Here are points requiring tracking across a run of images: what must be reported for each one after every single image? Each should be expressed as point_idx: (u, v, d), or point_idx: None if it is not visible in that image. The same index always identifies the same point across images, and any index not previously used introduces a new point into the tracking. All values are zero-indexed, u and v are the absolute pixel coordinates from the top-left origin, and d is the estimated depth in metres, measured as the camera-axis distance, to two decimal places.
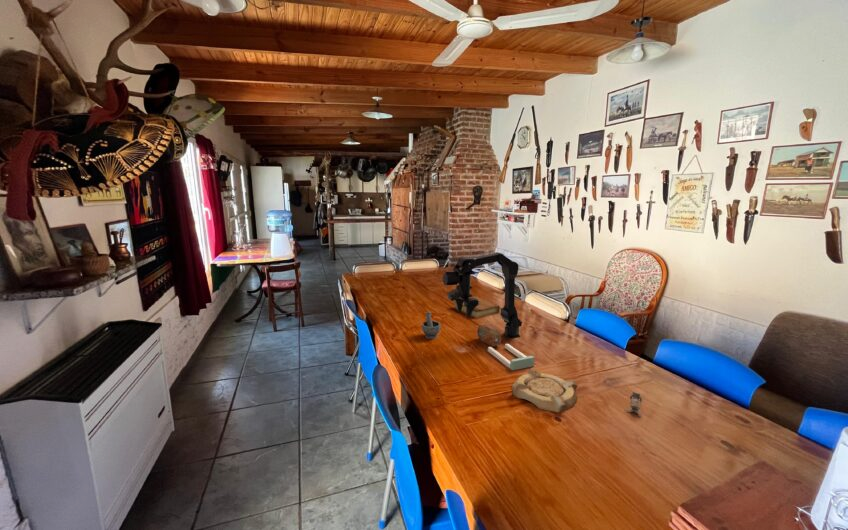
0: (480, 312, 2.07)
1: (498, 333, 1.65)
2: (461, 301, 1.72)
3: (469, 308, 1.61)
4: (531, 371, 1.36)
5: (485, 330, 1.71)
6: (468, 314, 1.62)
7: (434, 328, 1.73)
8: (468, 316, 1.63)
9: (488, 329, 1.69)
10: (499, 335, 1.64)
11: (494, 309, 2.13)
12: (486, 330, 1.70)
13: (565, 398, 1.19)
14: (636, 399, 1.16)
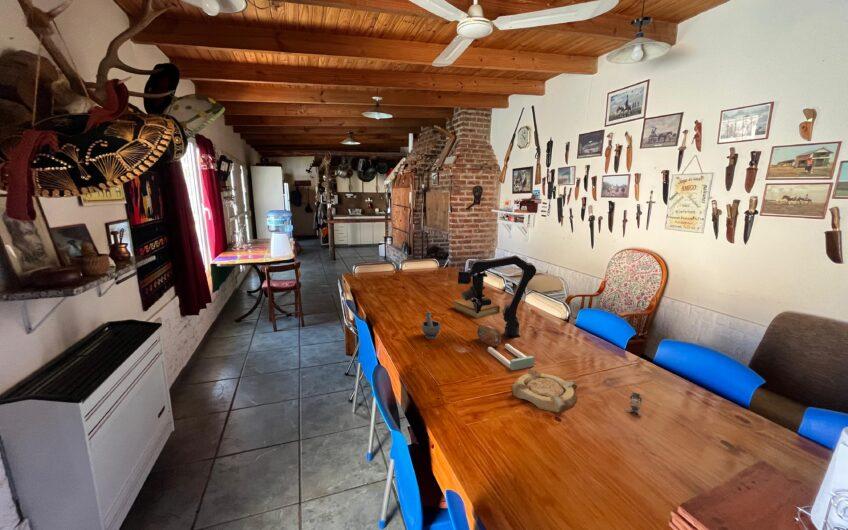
0: (481, 312, 2.07)
1: (498, 333, 1.65)
2: None
3: (478, 305, 1.79)
4: (531, 371, 1.37)
5: (485, 330, 1.71)
6: (477, 310, 1.80)
7: (434, 328, 1.73)
8: (477, 312, 1.80)
9: (488, 329, 1.69)
10: (499, 335, 1.64)
11: (494, 309, 2.13)
12: (486, 330, 1.70)
13: (565, 398, 1.19)
14: (636, 399, 1.16)
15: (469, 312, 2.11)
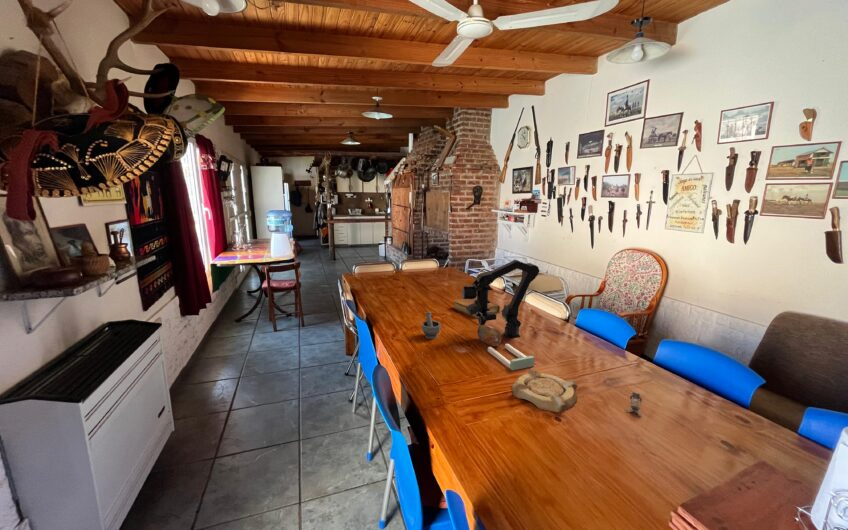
0: None
1: (498, 333, 1.65)
2: None
3: (483, 319, 1.75)
4: (531, 371, 1.37)
5: (485, 330, 1.71)
6: (482, 324, 1.76)
7: (434, 328, 1.73)
8: None
9: (488, 329, 1.69)
10: (499, 335, 1.64)
11: (494, 309, 2.14)
12: (486, 330, 1.70)
13: (565, 398, 1.19)
14: (636, 399, 1.16)
15: None
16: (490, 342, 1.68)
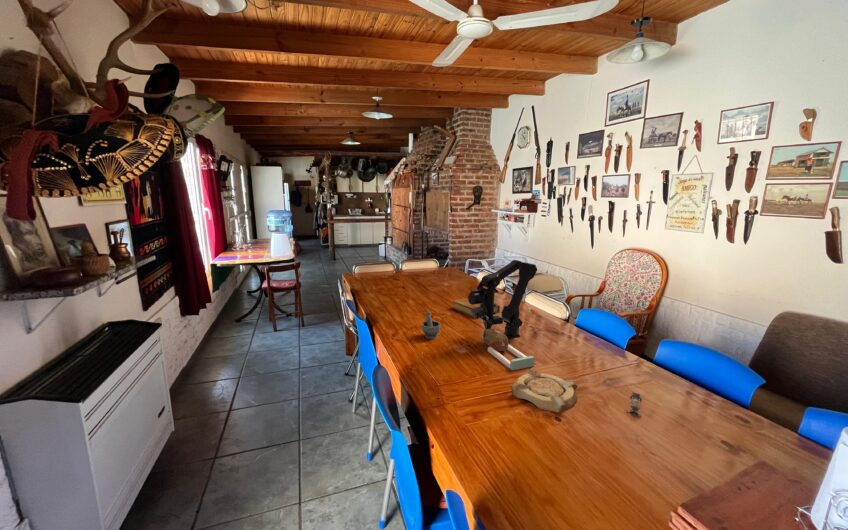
0: None
1: (505, 337, 1.59)
2: None
3: (488, 322, 1.70)
4: (531, 371, 1.36)
5: (491, 334, 1.66)
6: (488, 328, 1.71)
7: (434, 328, 1.73)
8: None
9: (494, 333, 1.64)
10: (506, 339, 1.59)
11: (494, 309, 2.14)
12: (493, 334, 1.65)
13: (565, 398, 1.19)
14: (636, 399, 1.16)
15: (469, 312, 2.11)
16: (496, 347, 1.63)
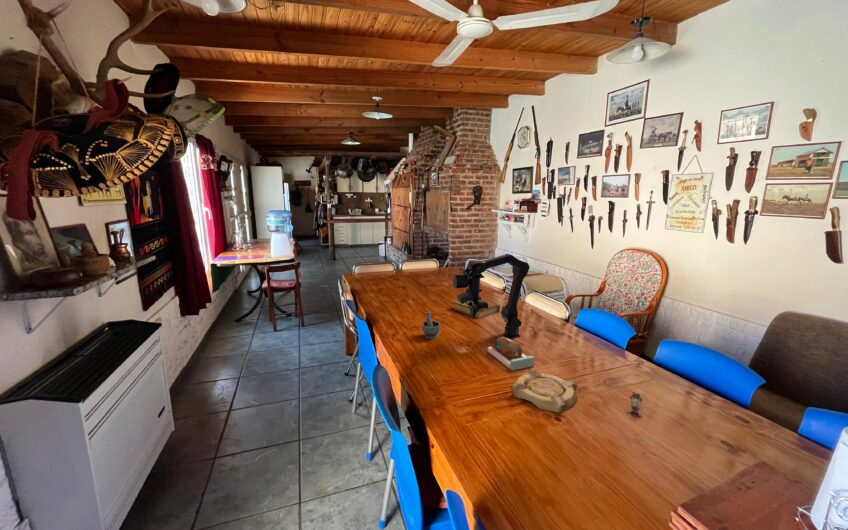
0: (482, 311, 2.07)
1: (518, 347, 1.50)
2: None
3: (474, 308, 1.70)
4: (531, 371, 1.37)
5: (503, 343, 1.56)
6: (473, 313, 1.71)
7: (434, 328, 1.73)
8: (473, 316, 1.71)
9: (507, 342, 1.54)
10: (520, 349, 1.49)
11: (495, 308, 2.15)
12: (505, 343, 1.55)
13: (565, 398, 1.19)
14: (636, 399, 1.16)
15: (470, 312, 2.11)
16: (509, 356, 1.54)
